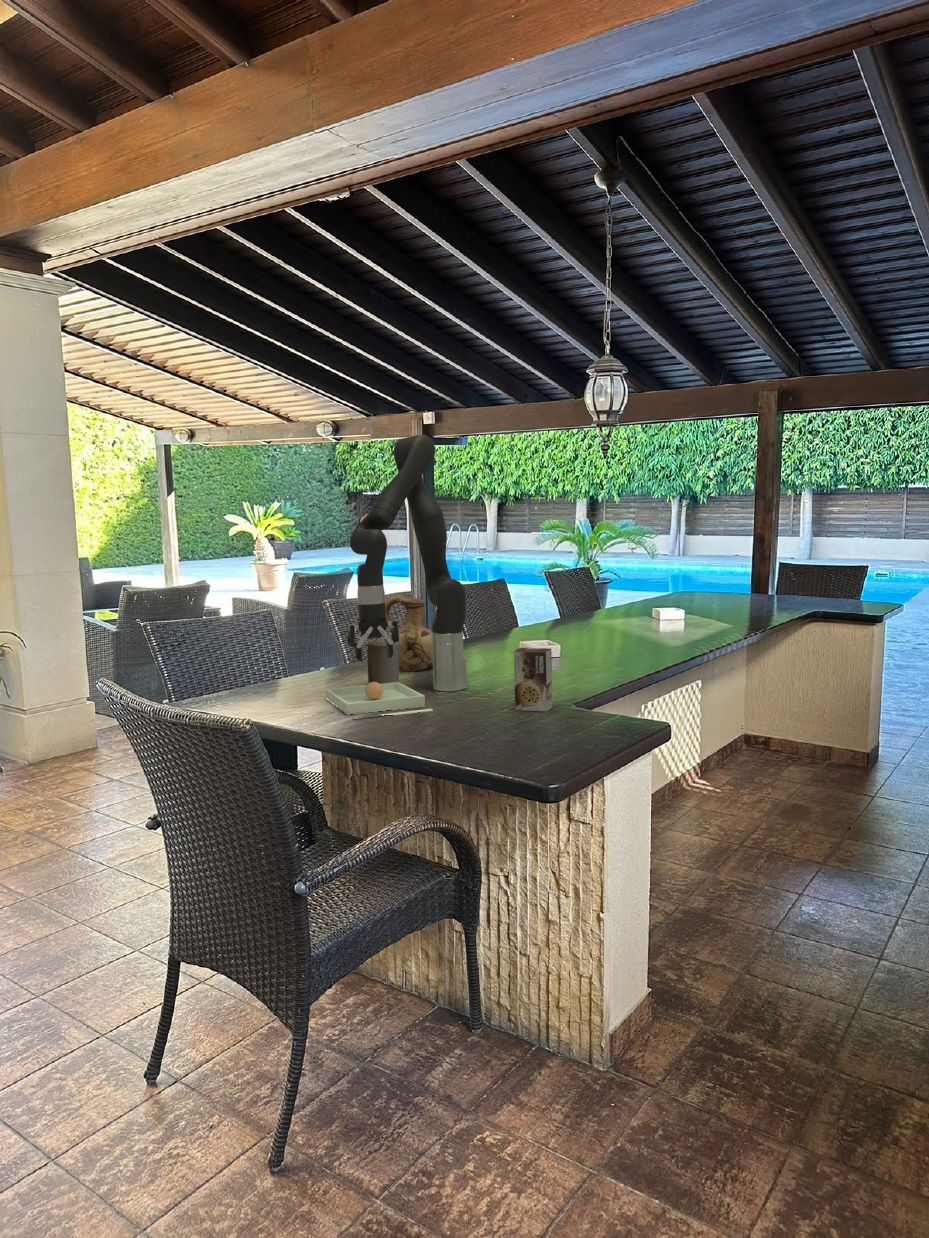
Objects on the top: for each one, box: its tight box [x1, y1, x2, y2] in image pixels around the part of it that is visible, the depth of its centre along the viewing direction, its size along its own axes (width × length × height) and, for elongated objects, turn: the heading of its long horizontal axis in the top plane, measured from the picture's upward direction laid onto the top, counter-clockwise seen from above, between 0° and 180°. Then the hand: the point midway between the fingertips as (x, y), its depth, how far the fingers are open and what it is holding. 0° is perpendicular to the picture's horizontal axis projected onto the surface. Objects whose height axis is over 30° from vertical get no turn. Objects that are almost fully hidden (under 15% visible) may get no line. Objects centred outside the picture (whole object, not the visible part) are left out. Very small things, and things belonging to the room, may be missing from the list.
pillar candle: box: [366, 637, 400, 685], centre depth 268 cm, size 10×10×15 cm
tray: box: [324, 681, 426, 714], centre depth 246 cm, size 22×22×3 cm
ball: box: [365, 682, 383, 700], centre depth 246 cm, size 5×5×5 cm
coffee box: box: [513, 647, 553, 713], centre depth 235 cm, size 9×6×16 cm
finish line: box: [380, 708, 434, 716], centre depth 232 cm, size 22×2×1 cm, turn 114°
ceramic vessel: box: [385, 595, 436, 672], centre depth 296 cm, size 18×19×25 cm
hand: (374, 659), depth 245 cm, fingers open, 8 cm apart
